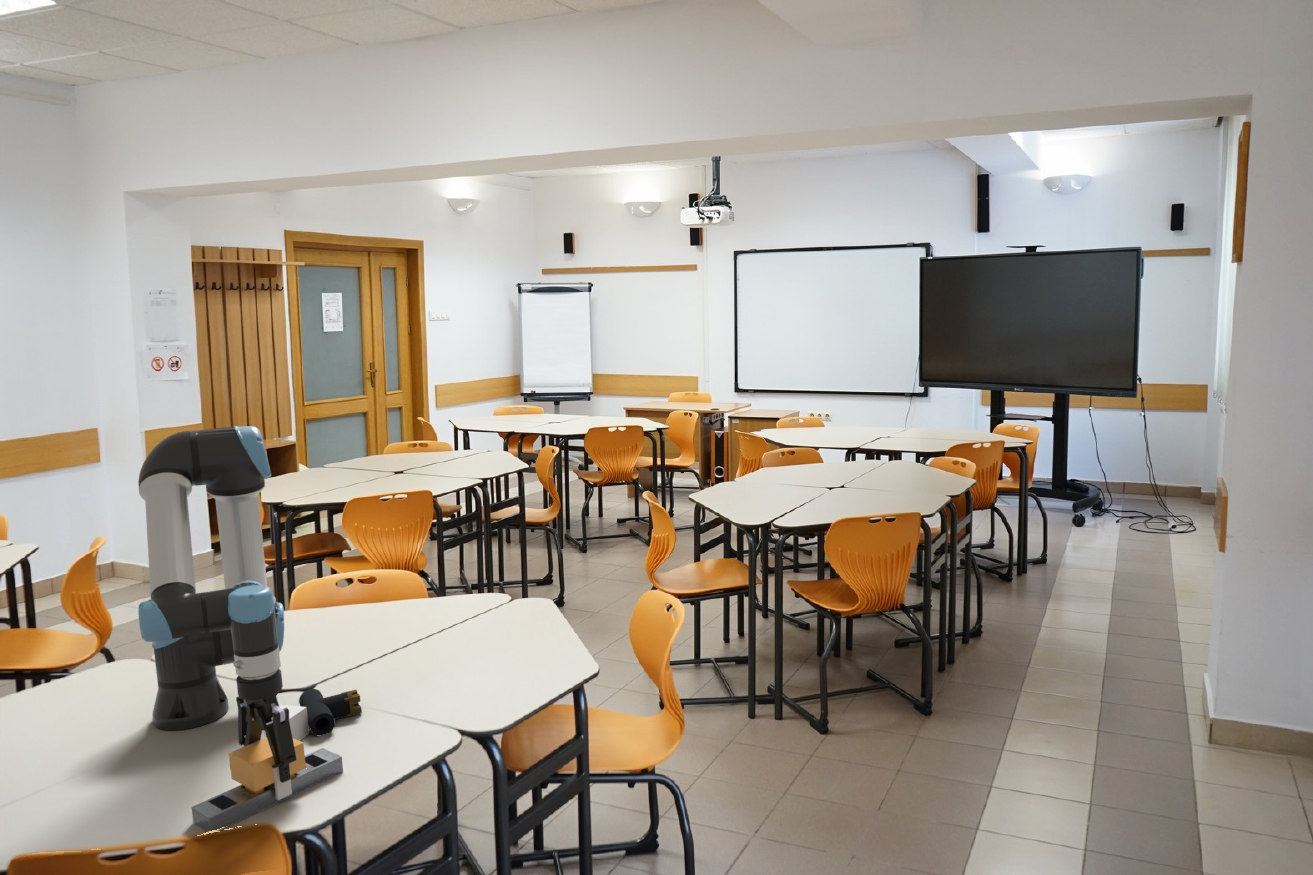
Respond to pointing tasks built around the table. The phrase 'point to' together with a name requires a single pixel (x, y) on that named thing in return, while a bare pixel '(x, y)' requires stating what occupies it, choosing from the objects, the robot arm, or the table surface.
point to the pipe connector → (328, 709)
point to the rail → (263, 793)
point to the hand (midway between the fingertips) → (271, 789)
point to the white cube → (297, 721)
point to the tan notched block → (260, 765)
